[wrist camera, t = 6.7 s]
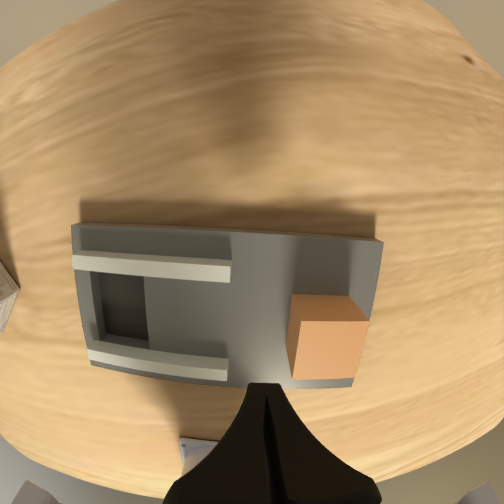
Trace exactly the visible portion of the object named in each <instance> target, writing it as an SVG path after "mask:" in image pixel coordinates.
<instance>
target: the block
mask: <svg viewBox="0 0 504 504" xmlns="http://www.w3.org/2000/svg"><path fill="white" fill-rule="evenodd" d="M369 322H370V321H369V320H368V318H367V317H366V316H365V315H364V314H363V312H362V311H361V310H360V309H359V307H358V306H357V305H356V304H355V303H354V301H353V300H352V299H351V298H350V297H349V296H337V295H305V294H292V297H291V306H290V314H289V323H288V331H287V338H286V351H287V356H288V361H289V367H290V372H291V377H292V380H315V379H341V378H355V375H356V372H357V368H358V365H359V361H360V358H361V354H362V350H363V347H364V343H365V339H366V335H367V331H368V326H369Z"/></svg>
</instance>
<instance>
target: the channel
mask: <svg viewBox="0 0 504 504" xmlns="http://www.w3.org/2000/svg"><path fill="white" fill-rule="evenodd" d="M71 233H72V249H73V254H72V264H73V269H74V272H75V280H76V288H77V296H78V302H79V309H80V314H81V320H82V325H83V331H84V335H85V340H86V345H87V348H86V350H87V354H88V358H89V359H90V362H91V365H93V366H97V367H102V368H106V369H110V370H115V371H119V372H124V373H129V374H134V375H140V376H145V377H151V378H157V379H163V380H170V381H177V382H185V383H193V384H202V385H212V386H223V387H237V388H248V384H249V383H251V382H252V383H279V384H280V385H281V387H282V389H324V388H343V387H352V383H353V380H354V378H341V379H315V380H292V377H291V372H290V367H289V361H288V356H287V351H286V338H287V331H288V323H289V314H290V306H291V297H292V294H305V295H337V296H349V297H350V298H351V299H352V300H353V301H354V303H355V304H356V305H357V306H358V307H359V309H360V310H361V311H362V312H363V314H364V315H365V316H366V317H367V318H368V320H370V316H371V311H372V306H373V302H374V297H375V292H376V286H377V281H378V275H379V269H380V263H381V257H382V250H383V243H384V242H382V241H380V240H378V239H375V238H366V237H353V236H341V235H328V234H314V233H300V232H285V231H270V230H254V229H237V228H218V227H198V226H177V225H152V224H124V223H88V222H81V223H77V224H73V225H71Z"/></svg>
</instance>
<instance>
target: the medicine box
mask: <svg viewBox="0 0 504 504" xmlns="http://www.w3.org/2000/svg"><path fill="white" fill-rule="evenodd" d="M19 291H20V288H19V287H18V286H17V284H16V283H15V281H14V280H13V279H12V277H11V276H10V274H9V273H8V272H7V270H6V269H5V267H4V266H3V265H2V263H1V261H0V333H1V332H3V331H4V329H5V326H6V323H7V321H8V318H9V315H10V312H11V310H12V307H13V305H14V302H15V300H16V297H17V295H18V293H19Z"/></svg>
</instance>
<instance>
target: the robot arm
mask: <svg viewBox="0 0 504 504" xmlns="http://www.w3.org/2000/svg"><path fill="white" fill-rule="evenodd" d="M179 446H180V451H181V456H182V461H183V471H182V475H181V478H179V479H178V480H176V481H175V482H174V483H173V485H172V486H171V488H170V489H169V491H168V493H167V494H166V496H165V498H164V501H163V504H380V503H381V501H382V498H381V495H380V492H379V490H378V488H377V486H376V484H375V482H374V481H373V479H372V478H370V477H368V476H366V475H364V474H362V473H361V472H359V471H357V470H355V469H353V468H352V467H350V466H349V465H347V464H346V463H344V462H343V461H341V460H340V459H339V458H338V457H336V456H335V455H334V454H332V453H331V452H330V451H329V450H328V449H327V448H325V447H324V446H323V445H322V444H321V443H320V442H319V441H318V440H317V439H316V438H315V437H314V436H313V434H312V433H311V432H310V431H309V430H308V429H307V427H306V426H305V425H304V423H303V422H302V421H301V419H300V418H299V417H298V415H297V414H296V412H295V411H294V409H293V408H292V406H291V404H290V403H289V401H288V399H287V397H286V395H285V393H284V391H283V389H282V387H281V385H280V384H279V383H252V382H251V383H249V384H248V388H247V392H246V395H245V398H244V401H243V403H242V405H241V407H240V410H239V412H238V414H237V416H236V417H235V419H234V421H233V422H232V424H231V426H230V427H229V429H228V430H227V432H226V433H225V435H224V436H223V437H222V439H221V440H220V441H219V442H215V441H205V440H197V439H189V438H180V439H179ZM12 504H61V503H59V502H58V501H57V500H56V498H55V497H54V496H53V495H51V494H50V493H49V492H47V491H45V490H44V489H42V488H40V487H38V486H37V485H35V484H33V483H31V482H30V481H28V480H26V481H25V482H24V484H23V485H22V487H21V489H20V490H19V492H18V493H17V495H16V497H15V499H14V500H13V502H12ZM454 504H502V503H501V502H500V500H499V498H498V497H497V495H496V493H495V492H494V490H493V488H492V487H491V485H490V483H489V482H488V481H486V482H484V483H482V484H481V485H479V486H477V487H475V488H474V489H472V490H470V491H469V492H468V493H466V494H465V495H464V496H463V497H462V498H461V499H460V500H459V501H458V502H456V503H454Z"/></svg>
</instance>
